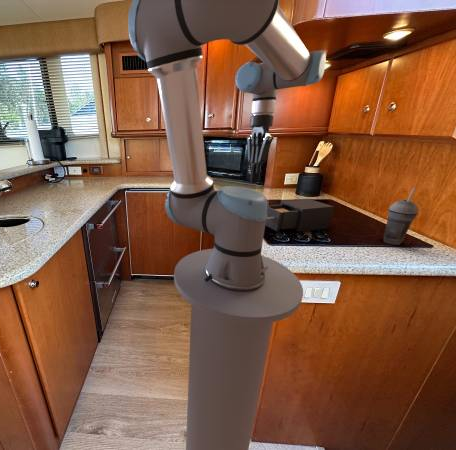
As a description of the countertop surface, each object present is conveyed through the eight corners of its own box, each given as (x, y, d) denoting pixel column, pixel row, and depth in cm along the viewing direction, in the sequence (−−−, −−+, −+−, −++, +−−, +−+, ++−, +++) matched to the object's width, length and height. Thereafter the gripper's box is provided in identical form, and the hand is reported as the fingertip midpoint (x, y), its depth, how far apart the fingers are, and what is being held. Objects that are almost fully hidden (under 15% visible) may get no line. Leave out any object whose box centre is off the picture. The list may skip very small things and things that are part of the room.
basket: (263, 232, 94) (266, 214, 91) (247, 223, 104) (250, 206, 102) (305, 228, 97) (309, 210, 95) (286, 219, 108) (289, 202, 105)
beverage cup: (396, 238, 88) (416, 185, 81) (411, 247, 81) (434, 189, 74) (373, 237, 89) (390, 184, 82) (386, 245, 83) (406, 189, 76)
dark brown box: (298, 231, 96) (302, 209, 93) (277, 221, 108) (280, 201, 105) (328, 228, 99) (334, 206, 96) (305, 218, 111) (309, 198, 107)
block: (278, 225, 98) (280, 212, 96) (271, 221, 102) (273, 209, 100) (288, 224, 99) (290, 211, 97) (280, 220, 103) (283, 208, 101)
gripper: (284, 113, 78) (273, 184, 86) (260, 116, 90) (252, 178, 98) (264, 113, 77) (255, 185, 85) (242, 116, 89) (236, 179, 97)
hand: (253, 181), depth 92 cm, fingers closed
